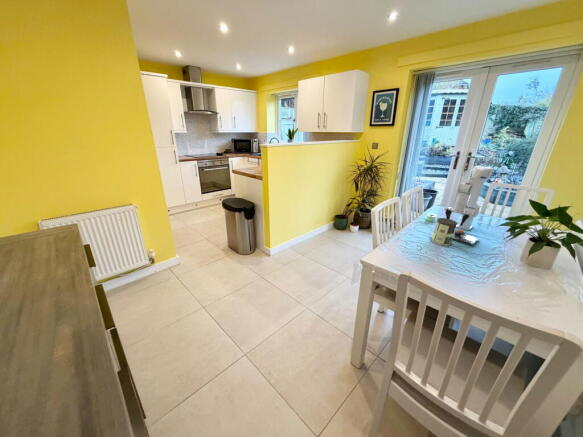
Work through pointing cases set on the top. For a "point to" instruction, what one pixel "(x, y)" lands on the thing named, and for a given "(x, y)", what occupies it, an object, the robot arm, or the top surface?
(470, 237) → the scale pan
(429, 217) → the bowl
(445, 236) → the coffee can
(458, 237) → the scale
